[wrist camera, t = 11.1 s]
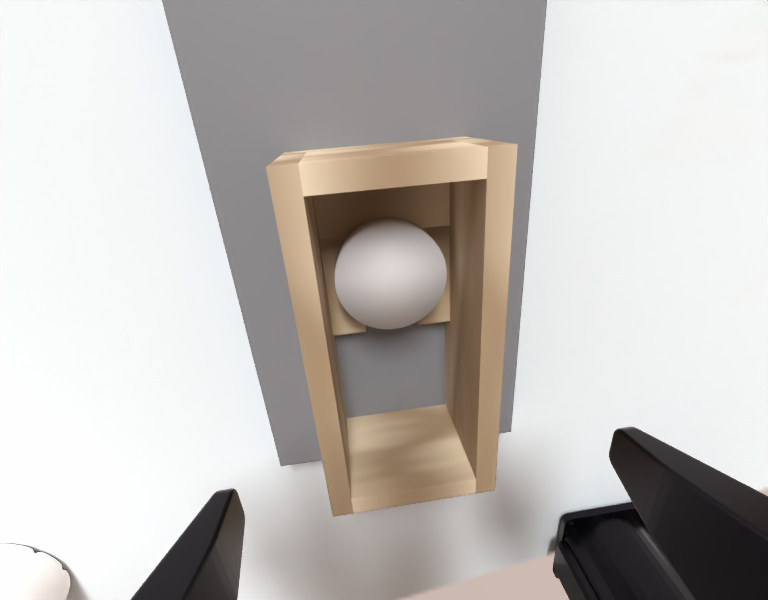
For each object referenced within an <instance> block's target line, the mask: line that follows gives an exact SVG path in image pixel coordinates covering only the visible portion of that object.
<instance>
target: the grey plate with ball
mask: <svg viewBox="0 0 768 600" xmlns="http://www.w3.org/2000/svg"><path fill="white" fill-rule="evenodd" d="M162 2H163V6H164V10H165V14H166V18H167V22H168V26H169V30H170V34H171V38H172V41H173V45H174V49H175V53H176V57H177V61H178V65H179V69H180V73H181V77H182V81H183V85H184V88H185V92H186V96H187V100H188V104H189V108H190V112H191V116H192V120H193V124H194V128H195V132H196V135H197V139H198V143H199V147H200V151H201V155H202V159H203V163H204V167H205V171H206V175H207V179H208V182H209V186H210V190H211V194H212V198H213V202H214V206H215V210H216V214H217V218H218V222H219V226H220V230H221V233H222V237H223V241H224V245H225V249H226V253H227V257H228V261H229V265H230V269H231V273H232V277H233V280H234V284H235V288H236V292H237V296H238V300H239V304H240V308H241V312H242V316H243V320H244V324H245V327H246V331H247V335H248V339H249V343H250V347H251V351H252V355H253V359H254V363H255V367H256V371H257V375H258V378H259V382H260V386H261V390H262V394H263V398H264V402H265V406H266V410H267V414H268V418H269V422H270V425H271V429H272V433H273V437H274V441H275V445H276V449H277V453H278V457H279V461H280V465H281V466H286V465H293V464H299V463H306V462H312V461H319V460H322V457H321V451H320V446H319V441H318V436H317V431H316V425H315V420H314V415H313V410H312V405H311V399H310V394H309V389H308V384H307V379H306V374H305V368H304V363H303V358H302V353H301V348H300V342H299V337H298V332H297V327H296V322H295V316H294V311H293V306H292V301H291V296H290V290H289V285H288V280H287V275H286V270H285V264H284V259H283V254H282V249H281V244H280V238H279V233H278V228H277V223H276V218H275V212H274V207H273V202H272V197H271V192H270V186H269V181H268V176H267V171H266V166H268V165H269V164H270V163H272V162H273V161H274V160H275V159H277V158H278V157H279V156H281V155H282V154H283V153H284V152H295V151H306V150H317V149H329V148H340V147H352V146H363V145H374V144H386V143H397V142H408V141H420V140H431V139H443V138H454V137H472V138H479V139H485V140H492V141H499V142H506V143H513V144H518V148H517V163H516V178H515V193H514V208H513V223H512V238H511V254H510V269H509V284H508V299H507V314H506V329H505V345H504V360H503V375H502V390H501V405H500V420H499V433H505V432H511V424H512V412H513V400H514V388H515V377H516V365H517V353H518V341H519V329H520V317H521V305H522V293H523V281H524V269H525V257H526V245H527V233H528V221H529V209H530V197H531V185H532V173H533V161H534V149H535V138H536V126H537V114H538V102H539V90H540V78H541V66H542V54H543V42H544V30H545V18H546V6H547V0H162ZM334 272H335V288H336V293H337V296H338V298H339V300H340V302H341V304H342V306H343V307H344V309H345V310H346V311H347V312H348V313H349V314H350V315H351V316H352V317H353V318H354V319H356V320H357V321H359V322H361V323H362V324H365V326H366V332H358V333H350V334H342V335H335V341H336V348H337V355H338V362H339V369H340V375H341V382H342V389H343V396H344V403H345V410H346V416H347V418H353V417H360V416H367V415H374V414H381V413H388V412H394V411H401V410H408V409H415V408H422V407H429V406H436V405H443V404H446V376H445V322H437V323H429V324H421V325H418V323H417V321H419V320H421V319H422V318H424V317H425V316H426V315H427V314H428V313H429V312H431V311H432V309H433V308H434V307H435V306H436V305H437V303H438V301H439V300H440V298H441V296H442V294H443V291H444V288H445V285H446V278H447V269H446V263H445V259H444V256H443V254H442V252H441V250H440V248H439V247H438V245H437V244H436V243H435V241H434V240H433V239H432V238H431V237H430V235H429V234H428V233H427V232H426V231H425V230H424V229H422V228H421V227H420V226H418V225H417V224H415V223H413V222H411V221H408V220H406V219H402V218H396V217H383V218H377V219H374V220H370V221H368V222H366V223H364V224H362V225H360V226H359V227H357V228H356V229H355V230H353V231H352V232H351V233H350V234H349V235H348V236H347V237H346V238H345V240H344V241H343V243H342V244H341V246H340V248H339V250H338V253H337V256H336V260H335V268H334Z"/></svg>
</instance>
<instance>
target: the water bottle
mask: <svg viewBox="0 0 768 600" xmlns="http://www.w3.org/2000/svg"><path fill="white" fill-rule="evenodd" d="M70 584H71V582H70V577H69V574H68V572H67V571H66V570H62V565H61V564H60V562H59V561H57V560H56V559H55V558H53V557H51V556H50V555H48V554H46V553H43V552H38V553H34V551H33V549H32V548H30V547H26V546H22V545H16V544H0V600H66V598H67V595H68V592H69V590H70Z"/></svg>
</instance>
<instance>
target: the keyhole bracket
mask: <svg viewBox="0 0 768 600" xmlns="http://www.w3.org/2000/svg"><path fill="white" fill-rule="evenodd" d="M517 148H518V144H513V143H506V142H499V141H492V140H485V139H479V138H472V137H454V138H443V139H431V140H420V141H408V142H397V143H386V144H374V145H363V146H352V147H340V148H329V149H317V150H306V151H295V152H284V153H283V154H282V155H281V156H279V157H278V158H277V159H275V160H274V161H273V162H272V163H270V164H269V165H268V166H266V171H267V176H268V181H269V186H270V192H271V197H272V202H273V207H274V212H275V218H276V223H277V228H278V233H279V238H280V244H281V249H282V254H283V259H284V264H285V270H286V275H287V280H288V285H289V290H290V296H291V301H292V306H293V311H294V316H295V322H296V327H297V332H298V337H299V342H300V348H301V353H302V358H303V363H304V368H305V374H306V379H307V384H308V389H309V394H310V399H311V405H312V410H313V415H314V420H315V425H316V431H317V436H318V441H319V446H320V451H321V457H322V462H323V467H324V472H325V477H326V483H327V488H328V493H329V498H330V503H331V509H332V514H333V517H334V516H340V515H346V514H352V513H358V512H365V511H371V510H377V509H383V508H389V507H395V506H401V505H408V504H414V503H420V502H426V501H432V500H438V499H445V498H451V497H457V496H463V495H469V494H475V493H481V492H488V491H494V490H495V481H496V466H497V451H498V435H499V420H500V405H501V390H502V375H503V360H504V345H505V329H506V314H507V299H508V284H509V269H510V254H511V238H512V223H513V208H514V193H515V178H516V163H517ZM383 217H396V218H402V219H406V220H408V221H411V222H413V223H415V224H417V225H418V226H420V227H421V228H422V229H424V230H425V231H426V232H427V233H428V234H429V235H430V237H431V238H432V239H433V240H434V241H435V243H436V244H437V245H438V247H439V248H440V250H441V252H442V254H443V256H444V259H445V263H446V269H447V278H446V285H445V288H444V291H443V294H442V296H441V298H440V300H439V301H438V303H437V305H436V306H435V307H434V308H433V309H432V311H431V312H429V313H428V314H427V315H426V316H425V317H424V318H422V319H421V320H419V321H417V323H418V325H421V324H429V323H437V322H445V376H446V404H443V405H436V406H429V407H422V408H415V409H408V410H401V411H394V412H388V413H381V414H374V415H367V416H360V417H353V418H347V416H346V410H345V403H344V396H343V389H342V382H341V375H340V369H339V362H338V355H337V348H336V341H335V335H342V334H350V333H358V332H366V326H365V324H362V323H361V322H359V321H357V320H356V319H354V318H353V317H352V316H351V315H350V314H349V313H348V312H347V311H346V310H345V309H344V307H343V306H342V304H341V302H340V300H339V298H338V296H337V293H336V288H335V272H334V268H335V260H336V256H337V253H338V250H339V248H340V246H341V244H342V243H343V241H344V240H345V238H346V237H347V236H348V235H349V234H350V233H351V232H352V231H353V230H355V229H356V228H357V227H359V226H360V225H362V224H364V223H366V222H368V221H370V220H374V219H377V218H383Z"/></svg>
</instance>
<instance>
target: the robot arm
mask: <svg viewBox="0 0 768 600" xmlns="http://www.w3.org/2000/svg"><path fill="white" fill-rule="evenodd" d="M609 458H610V461H611V464H612V466H613V468H614V469H615V471H616V473H617V475H618V477H619V479H620V480H621V482H622V484H623V486H624V488H625V489H626V491H627V493H628V495H629V497H630V499H631V500H632V502H633V503H629V504H623V505H617V506H611V507H605V508H599V509H593V510H588V511H582V512H576V513H570V514H567V515H565V516H564V517H563V518H562V520H561V525H560V531H559V537H558V542H557V546H556V552H555V558H554V563H553V572H554V574H555V576H556V578H559V579H560V581H561V583H562V585H563V587H564V589H565V591H566V593H567V595H568V597H569V599H570V600H768V496H766V495H764V494H762V493H760V492H759V491H757V490H755V489H753V488H751V487H749V486H747V485H745V484H743V483H741V482H739V481H737V480H735V479H733V478H732V477H730V476H728V475H726V474H724V473H722V472H720V471H718V470H716V469H714V468H712V467H710V466H708V465H707V464H705V463H703V462H701V461H699V460H697V459H695V458H693V457H691V456H689V455H687V454H685V453H683V452H681V451H680V450H678V449H676V448H674V447H672V446H670V445H668V444H666V443H664V442H662V441H660V440H658V439H656V438H654V437H653V436H651V435H649V434H647V433H645V432H643V431H641V430H639V429H637V428H635V427H626V428H619V429H616V430H615V432H614V434H613V438H612V443H611V447H610V451H609ZM244 526H245V515H244V511H243V508H242V505H241V502H240V499H239V496H238V493H237V491H236V490H235V489H226V490H220V491H217V492H216V493H214V494H213V496H212V497H211V498H210V499H209V501H208V502H207V503H206V504H205V506H204V507H203V508H202V510H201V511H200V512H199V513H198V515H197V516H196V517H195V518H194V520H193V521H192V522H191V524H190V525H189V526H188V527H187V529H186V530H185V531H184V532H183V534H182V535H181V536H180V537H179V539H178V540H177V541H176V543H175V544H174V545H173V546H172V548H171V549H170V550H169V551H168V553H167V554H166V555H165V557H164V558H163V559H162V560H161V562H160V563H159V564H158V565H157V567H156V568H155V569H154V571H153V572H152V573H151V574H150V576H149V577H148V578H147V579H146V581H145V582H144V583H143V584H142V586H141V587H140V588H139V590H138V591H137V592H136V593H135V595H134V596H133V597H132V598H131V600H237V597H238V588H239V578H240V568H241V557H242V547H243V536H244Z"/></svg>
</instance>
